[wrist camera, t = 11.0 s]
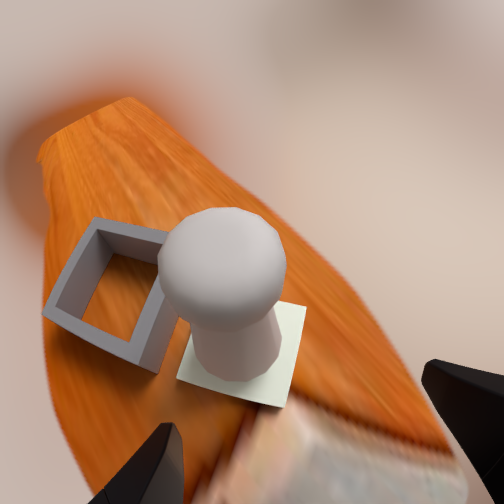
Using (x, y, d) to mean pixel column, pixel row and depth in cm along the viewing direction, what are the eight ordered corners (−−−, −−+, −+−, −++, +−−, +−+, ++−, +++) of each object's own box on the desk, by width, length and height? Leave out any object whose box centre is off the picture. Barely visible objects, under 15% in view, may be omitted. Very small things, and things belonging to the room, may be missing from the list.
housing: (157, 374, 19) (137, 365, 15) (66, 330, 20) (41, 314, 17) (199, 263, 24) (191, 236, 21) (110, 241, 26) (94, 216, 22)
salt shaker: (185, 362, 18) (93, 281, 7) (221, 299, 21) (189, 165, 10) (258, 398, 17) (266, 378, 6) (291, 329, 20) (336, 211, 9)
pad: (283, 407, 17) (284, 407, 16) (179, 379, 18) (175, 377, 18) (304, 311, 21) (306, 306, 21) (210, 289, 23) (208, 284, 22)
